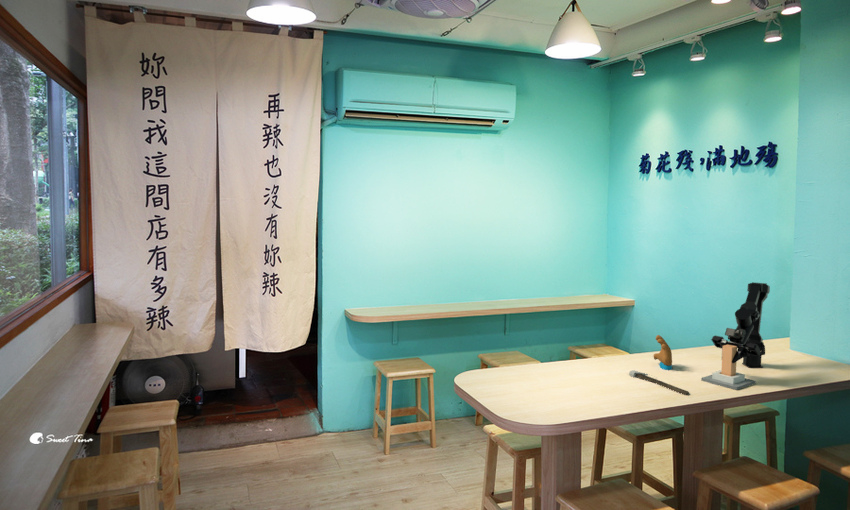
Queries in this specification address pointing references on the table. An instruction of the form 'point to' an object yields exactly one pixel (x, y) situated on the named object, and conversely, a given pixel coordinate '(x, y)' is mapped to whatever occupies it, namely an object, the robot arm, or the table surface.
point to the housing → (728, 380)
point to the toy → (664, 354)
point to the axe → (657, 381)
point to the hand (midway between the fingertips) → (727, 361)
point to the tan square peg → (728, 360)
